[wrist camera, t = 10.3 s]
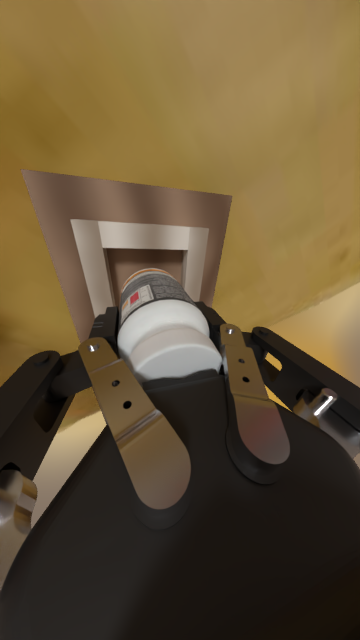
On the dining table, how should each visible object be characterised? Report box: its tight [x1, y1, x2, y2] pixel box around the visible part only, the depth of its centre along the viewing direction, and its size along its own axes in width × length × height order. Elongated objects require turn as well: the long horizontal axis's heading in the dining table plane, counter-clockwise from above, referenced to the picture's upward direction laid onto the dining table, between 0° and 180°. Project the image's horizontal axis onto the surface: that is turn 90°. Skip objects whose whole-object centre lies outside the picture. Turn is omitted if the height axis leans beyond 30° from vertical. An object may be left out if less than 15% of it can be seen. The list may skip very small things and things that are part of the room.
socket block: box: [21, 169, 232, 343], centre depth 19 cm, size 18×18×4 cm
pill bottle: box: [117, 268, 222, 389], centre depth 11 cm, size 6×6×10 cm
